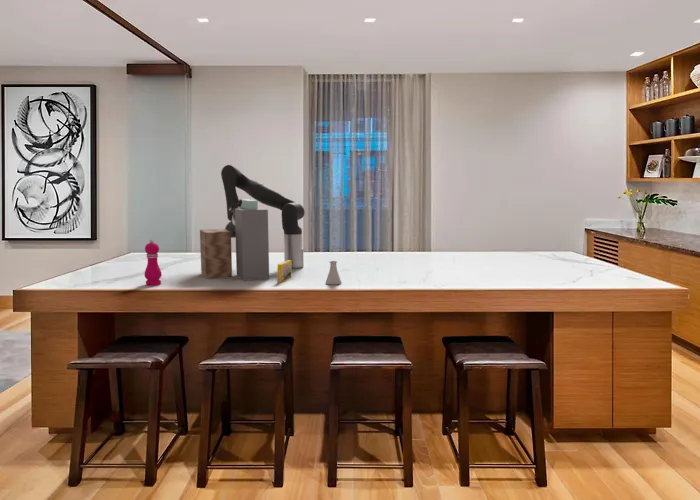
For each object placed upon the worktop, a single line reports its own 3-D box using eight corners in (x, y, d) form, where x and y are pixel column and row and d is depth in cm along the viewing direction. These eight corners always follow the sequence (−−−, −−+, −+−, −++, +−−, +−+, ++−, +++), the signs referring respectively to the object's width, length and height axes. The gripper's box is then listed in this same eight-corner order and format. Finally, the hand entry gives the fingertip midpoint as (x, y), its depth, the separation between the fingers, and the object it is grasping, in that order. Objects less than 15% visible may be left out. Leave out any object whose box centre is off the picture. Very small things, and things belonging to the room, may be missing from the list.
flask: (324, 282, 291) (324, 260, 290) (341, 282, 292) (341, 260, 291) (325, 285, 284) (325, 262, 283) (342, 285, 284) (342, 262, 283)
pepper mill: (165, 283, 291) (163, 238, 289) (155, 286, 284) (153, 240, 282) (151, 282, 293) (149, 238, 291) (141, 285, 286) (139, 239, 284)
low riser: (226, 272, 322) (224, 229, 320) (232, 277, 307) (230, 231, 305) (201, 274, 318) (199, 229, 315) (206, 278, 303) (204, 232, 301)
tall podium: (261, 274, 317) (259, 207, 313) (269, 278, 302) (267, 209, 298) (236, 275, 313) (234, 208, 309) (243, 280, 298) (241, 210, 294)
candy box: (281, 283, 291) (281, 264, 290) (277, 282, 292) (276, 264, 291) (292, 277, 307) (291, 259, 306) (287, 277, 308) (287, 259, 307)
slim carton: (247, 207, 320) (247, 199, 320) (257, 209, 300) (257, 200, 299) (239, 207, 319) (239, 199, 318) (249, 209, 298) (248, 200, 298)
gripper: (225, 210, 327) (230, 194, 312) (253, 209, 332) (259, 193, 317) (226, 224, 324) (232, 208, 310) (255, 223, 329) (261, 207, 315)
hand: (245, 200), depth 313 cm, fingers closed on slim carton, 4 cm apart
